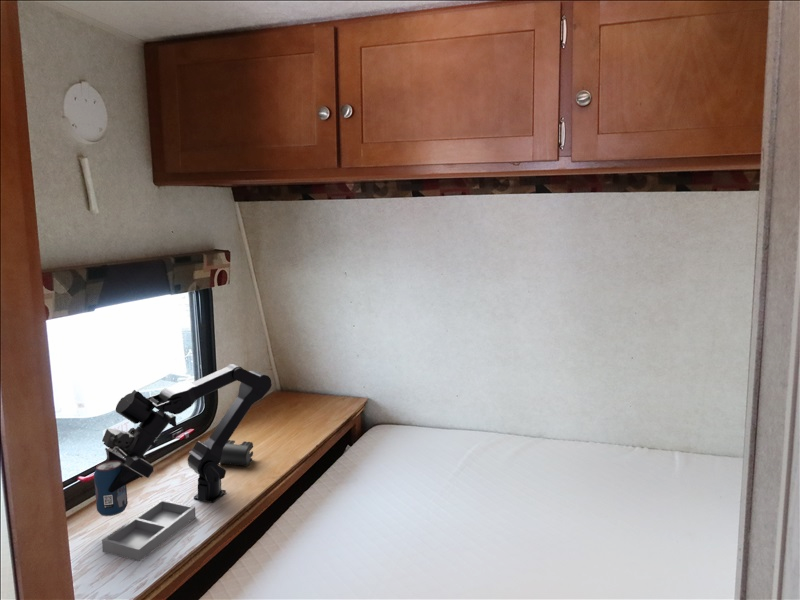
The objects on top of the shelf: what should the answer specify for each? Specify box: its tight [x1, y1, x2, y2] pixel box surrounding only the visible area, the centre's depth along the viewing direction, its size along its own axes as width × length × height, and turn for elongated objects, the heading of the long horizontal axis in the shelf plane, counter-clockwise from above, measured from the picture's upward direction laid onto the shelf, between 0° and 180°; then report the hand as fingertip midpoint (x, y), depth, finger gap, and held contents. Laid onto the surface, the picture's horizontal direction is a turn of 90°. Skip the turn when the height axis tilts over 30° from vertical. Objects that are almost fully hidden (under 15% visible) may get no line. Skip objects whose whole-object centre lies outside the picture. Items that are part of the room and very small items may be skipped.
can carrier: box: [101, 499, 197, 562], centre depth 146 cm, size 20×11×3 cm, turn 162°
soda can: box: [93, 460, 129, 517], centre depth 145 cm, size 7×7×12 cm
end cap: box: [219, 439, 254, 467], centre depth 185 cm, size 10×7×7 cm
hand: (104, 486), depth 144 cm, fingers closed on soda can, 7 cm apart
